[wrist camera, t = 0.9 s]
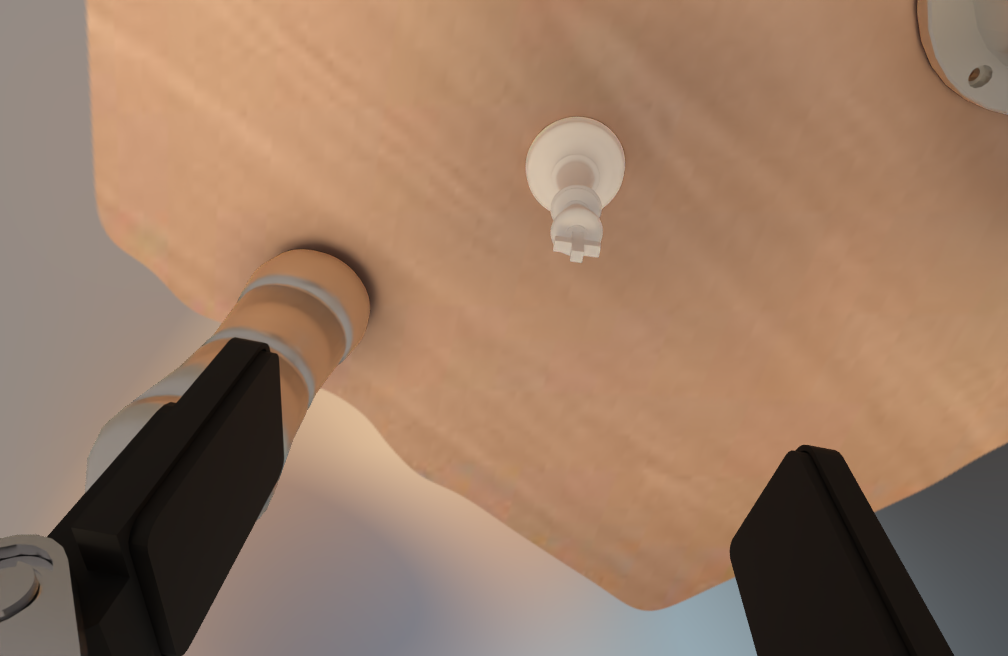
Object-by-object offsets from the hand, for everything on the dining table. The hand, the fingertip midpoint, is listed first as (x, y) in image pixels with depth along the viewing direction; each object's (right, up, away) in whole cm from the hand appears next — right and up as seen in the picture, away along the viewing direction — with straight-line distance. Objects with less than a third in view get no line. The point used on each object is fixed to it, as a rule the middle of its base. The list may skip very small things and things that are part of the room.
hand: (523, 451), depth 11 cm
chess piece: (+3, +10, +18) cm, 21 cm away
